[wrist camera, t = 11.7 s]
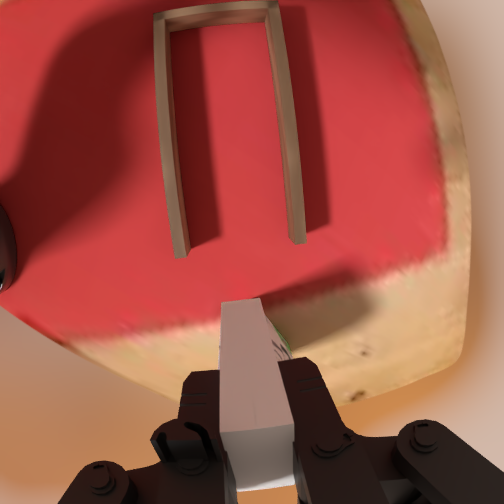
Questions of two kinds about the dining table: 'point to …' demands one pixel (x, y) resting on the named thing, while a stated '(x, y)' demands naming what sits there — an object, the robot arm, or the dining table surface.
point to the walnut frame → (284, 101)
